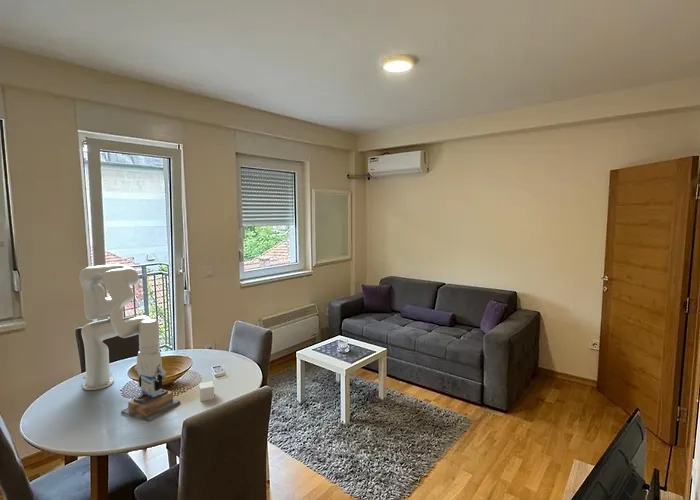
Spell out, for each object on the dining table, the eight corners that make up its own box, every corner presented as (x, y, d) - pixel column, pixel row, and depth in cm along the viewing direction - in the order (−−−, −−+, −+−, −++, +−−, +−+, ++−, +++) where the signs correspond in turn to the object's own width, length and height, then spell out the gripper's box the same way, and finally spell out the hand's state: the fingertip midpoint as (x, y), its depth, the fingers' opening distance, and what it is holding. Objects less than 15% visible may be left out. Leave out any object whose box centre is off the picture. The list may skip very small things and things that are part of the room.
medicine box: (141, 393, 163) (140, 374, 162) (150, 388, 167) (150, 370, 166) (152, 397, 159) (152, 378, 158) (162, 393, 163) (161, 374, 162)
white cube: (200, 401, 170) (199, 388, 169) (199, 395, 175) (199, 383, 175) (214, 398, 172) (214, 386, 172) (212, 393, 178) (212, 381, 177)
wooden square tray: (121, 413, 158) (120, 399, 158) (152, 396, 173) (152, 383, 173) (150, 421, 153) (149, 407, 152) (180, 403, 168) (179, 390, 167)
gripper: (126, 348, 160) (128, 387, 161) (157, 354, 154) (158, 395, 156) (141, 342, 167) (143, 380, 169) (172, 348, 161) (173, 387, 163)
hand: (150, 387), depth 162 cm, fingers closed on medicine box, 8 cm apart
